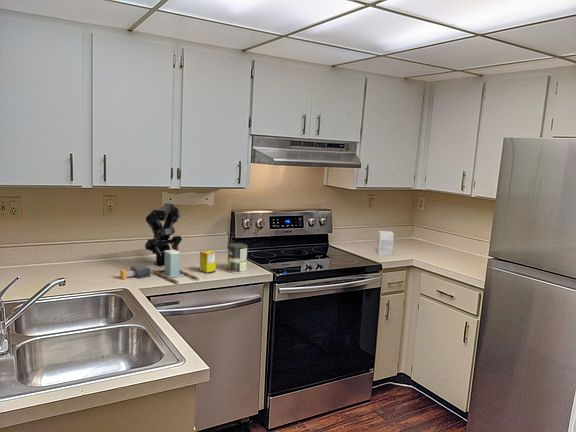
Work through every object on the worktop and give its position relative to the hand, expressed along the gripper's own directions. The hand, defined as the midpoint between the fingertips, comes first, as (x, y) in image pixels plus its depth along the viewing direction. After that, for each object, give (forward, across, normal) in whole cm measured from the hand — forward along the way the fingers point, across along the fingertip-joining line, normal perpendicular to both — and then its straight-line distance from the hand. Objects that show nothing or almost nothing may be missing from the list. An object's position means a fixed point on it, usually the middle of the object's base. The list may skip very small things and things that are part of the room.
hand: (169, 256), depth 236 cm
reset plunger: (+2, -19, +10) cm, 22 cm away
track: (+11, -1, +2) cm, 11 cm away
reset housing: (+3, -13, +10) cm, 17 cm away
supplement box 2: (+35, +134, -22) cm, 140 cm away
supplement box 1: (+13, +17, +1) cm, 22 cm away
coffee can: (+18, +31, -5) cm, 36 cm away
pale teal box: (+8, 0, +4) cm, 9 cm away
